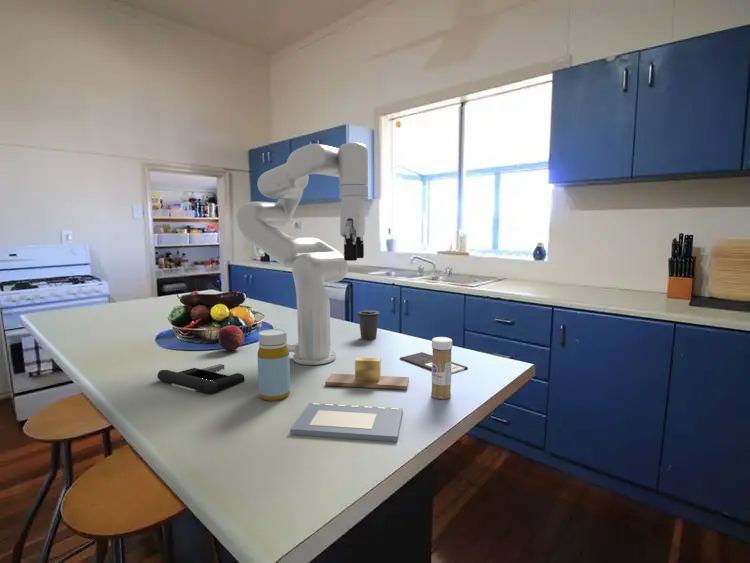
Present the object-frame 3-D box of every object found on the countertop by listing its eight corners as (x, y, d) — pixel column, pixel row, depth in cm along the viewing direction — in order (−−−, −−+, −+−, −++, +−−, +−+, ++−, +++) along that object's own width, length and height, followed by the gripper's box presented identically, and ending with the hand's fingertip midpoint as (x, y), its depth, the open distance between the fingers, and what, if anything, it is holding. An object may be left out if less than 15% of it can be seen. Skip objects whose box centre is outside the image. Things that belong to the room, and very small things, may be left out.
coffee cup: (362, 342, 141) (362, 313, 139) (354, 336, 148) (353, 309, 147) (383, 339, 144) (383, 311, 143) (374, 334, 151) (374, 307, 150)
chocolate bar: (422, 352, 127) (467, 367, 113) (422, 355, 127) (467, 370, 113) (400, 357, 121) (444, 374, 107) (400, 360, 122) (444, 377, 107)
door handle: (205, 358, 117) (152, 371, 103) (257, 369, 108) (206, 385, 93) (205, 369, 117) (152, 384, 103) (257, 381, 108) (206, 399, 94)
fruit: (248, 347, 135) (247, 323, 134) (238, 354, 127) (236, 328, 126) (225, 346, 136) (224, 323, 135) (214, 353, 128) (212, 328, 127)
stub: (325, 385, 100) (324, 361, 100) (331, 376, 106) (331, 354, 106) (407, 389, 97) (407, 365, 97) (408, 380, 103) (408, 357, 103)
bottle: (274, 404, 90) (272, 337, 88) (252, 397, 94) (249, 333, 92) (296, 393, 96) (294, 330, 94) (275, 387, 100) (273, 327, 98)
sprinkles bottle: (427, 396, 94) (427, 338, 93) (439, 390, 97) (440, 335, 96) (443, 401, 91) (444, 342, 89) (455, 396, 94) (456, 338, 92)
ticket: (290, 434, 77) (290, 428, 76) (310, 407, 88) (309, 402, 88) (397, 441, 74) (397, 436, 74) (402, 412, 85) (402, 407, 85)
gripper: (346, 196, 116) (347, 257, 118) (331, 190, 99) (332, 261, 101) (373, 196, 114) (373, 257, 117) (361, 189, 97) (362, 261, 100)
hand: (354, 259), depth 109 cm, fingers open, 9 cm apart
